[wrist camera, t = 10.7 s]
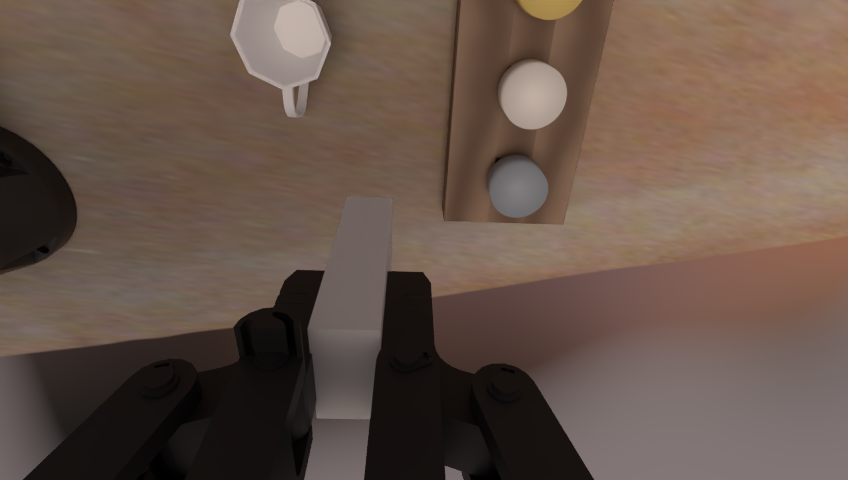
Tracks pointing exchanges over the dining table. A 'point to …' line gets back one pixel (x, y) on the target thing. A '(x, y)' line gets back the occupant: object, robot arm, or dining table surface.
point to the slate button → (517, 186)
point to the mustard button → (548, 8)
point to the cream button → (532, 94)
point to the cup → (283, 45)
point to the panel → (486, 121)
